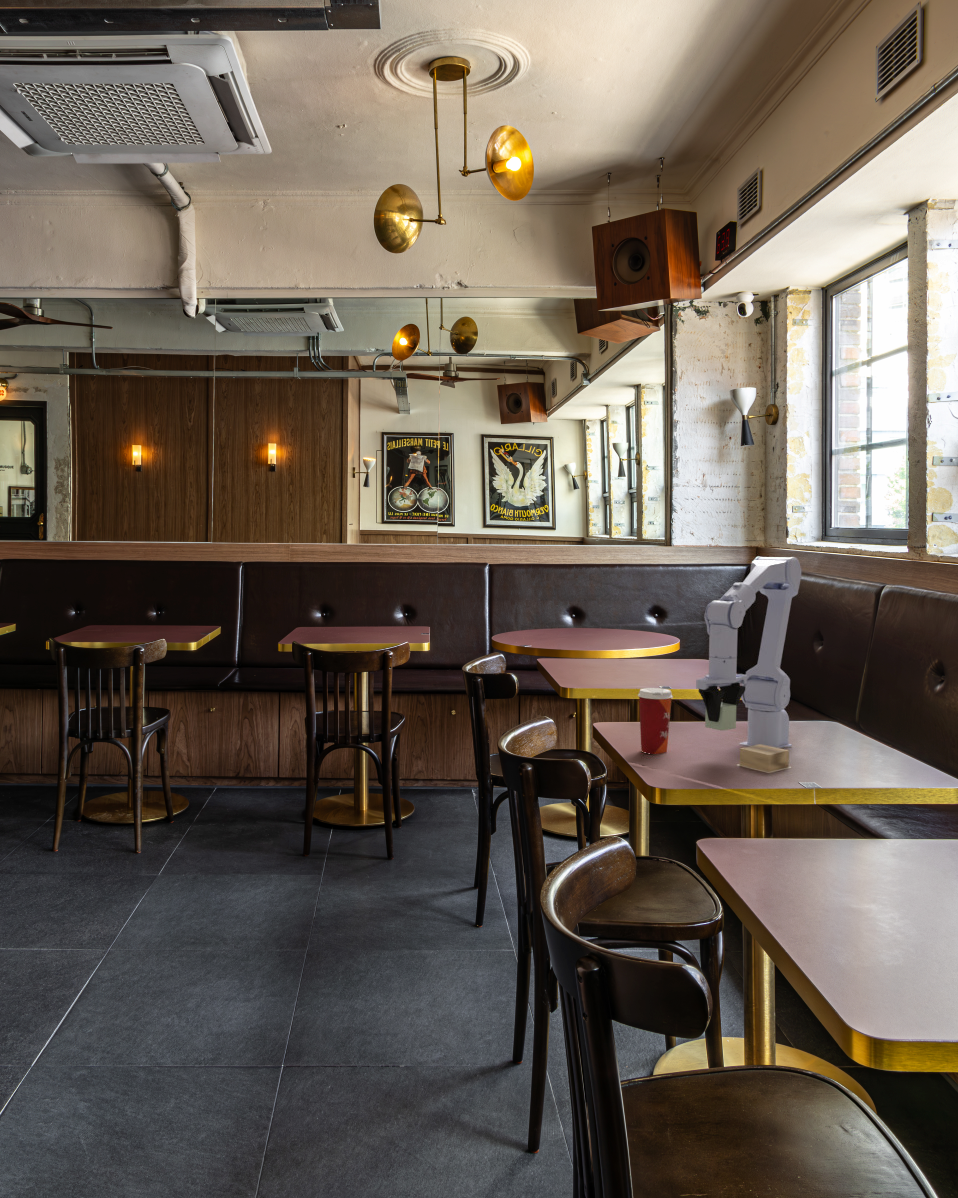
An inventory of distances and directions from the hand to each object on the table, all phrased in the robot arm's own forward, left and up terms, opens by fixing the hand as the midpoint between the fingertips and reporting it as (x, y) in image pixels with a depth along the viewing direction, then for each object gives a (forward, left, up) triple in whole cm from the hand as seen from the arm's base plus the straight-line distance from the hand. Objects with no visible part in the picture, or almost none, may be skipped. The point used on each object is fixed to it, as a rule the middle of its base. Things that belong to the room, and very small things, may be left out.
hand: (721, 719), depth 187 cm
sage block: (0, 0, -2) cm, 2 cm away
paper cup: (+5, -14, -9) cm, 18 cm away
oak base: (-3, +9, -9) cm, 13 cm away
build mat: (-3, +9, -9) cm, 13 cm away
